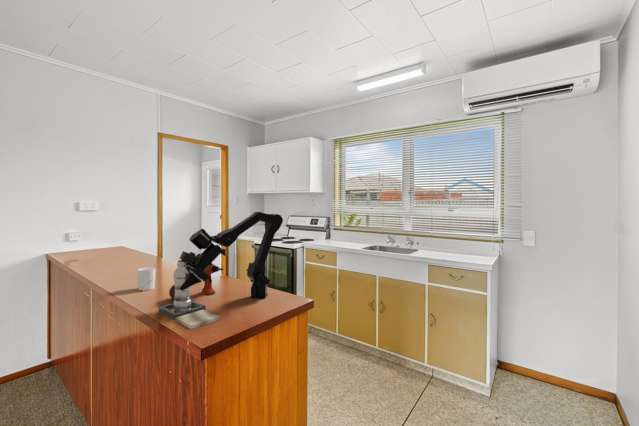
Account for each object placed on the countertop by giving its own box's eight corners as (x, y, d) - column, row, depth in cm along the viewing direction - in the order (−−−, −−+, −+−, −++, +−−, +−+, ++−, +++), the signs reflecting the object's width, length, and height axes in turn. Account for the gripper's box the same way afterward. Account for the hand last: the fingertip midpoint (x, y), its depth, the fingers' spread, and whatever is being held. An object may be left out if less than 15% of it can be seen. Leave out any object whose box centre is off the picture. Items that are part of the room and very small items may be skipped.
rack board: (203, 312, 116) (203, 309, 116) (219, 319, 109) (219, 316, 109) (175, 320, 108) (175, 317, 108) (191, 329, 101) (191, 325, 101)
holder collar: (189, 304, 126) (189, 299, 126) (205, 310, 118) (205, 305, 118) (158, 312, 116) (158, 306, 116) (174, 320, 108) (174, 314, 108)
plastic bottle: (179, 315, 113) (180, 263, 112) (169, 312, 116) (169, 261, 115) (195, 310, 118) (195, 260, 117) (184, 307, 122) (184, 258, 121)
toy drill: (219, 298, 130) (217, 263, 131) (199, 294, 143) (198, 262, 144) (229, 295, 133) (227, 262, 134) (209, 292, 146) (207, 261, 147)
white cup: (158, 288, 148) (158, 268, 148) (142, 292, 141) (142, 271, 141) (150, 285, 152) (150, 266, 152) (134, 289, 146) (134, 269, 145)
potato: (181, 295, 137) (181, 278, 137) (195, 300, 130) (195, 282, 130) (164, 299, 131) (164, 281, 131) (178, 305, 124) (178, 286, 124)
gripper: (187, 241, 126) (157, 270, 120) (200, 246, 111) (167, 280, 105) (206, 258, 131) (178, 286, 125) (220, 265, 116) (190, 298, 110)
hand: (178, 287), depth 116 cm, fingers closed on plastic bottle, 6 cm apart
